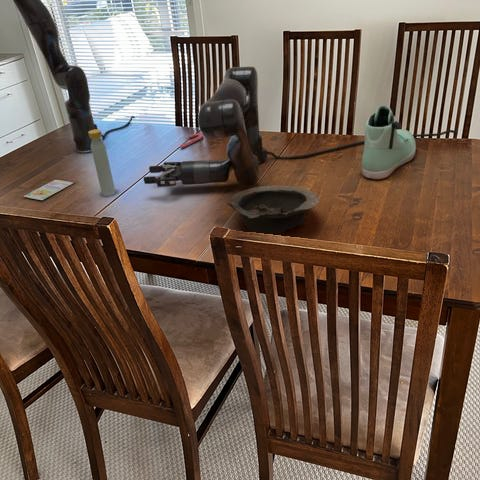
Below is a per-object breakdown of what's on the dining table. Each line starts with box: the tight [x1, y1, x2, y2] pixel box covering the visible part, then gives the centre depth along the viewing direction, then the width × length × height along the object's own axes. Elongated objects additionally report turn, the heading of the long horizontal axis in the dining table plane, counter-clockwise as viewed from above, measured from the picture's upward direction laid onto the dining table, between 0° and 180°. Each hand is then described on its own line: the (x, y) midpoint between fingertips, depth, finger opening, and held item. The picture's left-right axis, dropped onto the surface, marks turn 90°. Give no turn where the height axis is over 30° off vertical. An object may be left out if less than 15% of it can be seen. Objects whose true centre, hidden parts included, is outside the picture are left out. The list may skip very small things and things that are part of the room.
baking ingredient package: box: [23, 179, 74, 201], centre depth 165 cm, size 9×1×15 cm
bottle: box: [91, 137, 116, 197], centre depth 154 cm, size 4×4×21 cm
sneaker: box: [361, 105, 417, 180], centre depth 160 cm, size 14×34×20 cm, turn 152°
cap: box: [88, 128, 103, 139], centre depth 149 cm, size 4×4×2 cm
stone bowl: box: [226, 184, 320, 236], centre depth 133 cm, size 25×25×9 cm
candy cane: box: [179, 133, 204, 149], centre depth 196 cm, size 6×15×2 cm, turn 145°
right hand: (146, 174), depth 155 cm, fingers open, 8 cm apart
